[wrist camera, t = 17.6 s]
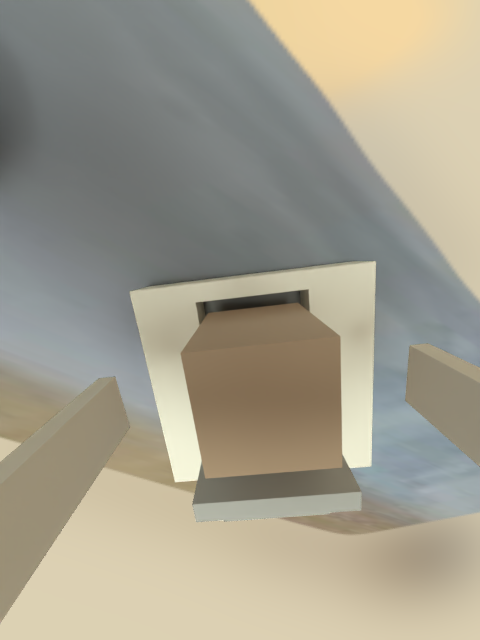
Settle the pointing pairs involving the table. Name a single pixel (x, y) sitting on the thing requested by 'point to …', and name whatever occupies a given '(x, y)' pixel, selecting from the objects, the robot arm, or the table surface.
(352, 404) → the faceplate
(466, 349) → the table surface
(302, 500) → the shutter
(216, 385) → the plug
